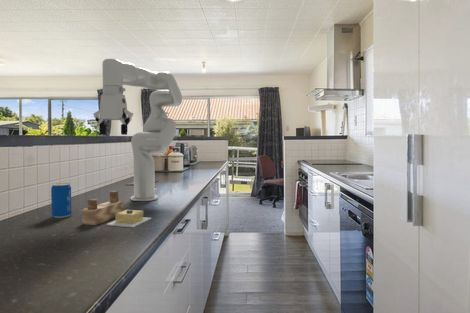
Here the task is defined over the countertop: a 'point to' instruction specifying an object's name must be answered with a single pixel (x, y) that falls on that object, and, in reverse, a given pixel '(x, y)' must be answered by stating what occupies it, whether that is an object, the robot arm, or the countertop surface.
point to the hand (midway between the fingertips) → (113, 134)
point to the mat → (129, 224)
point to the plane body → (101, 210)
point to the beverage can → (61, 200)
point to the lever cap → (129, 216)
